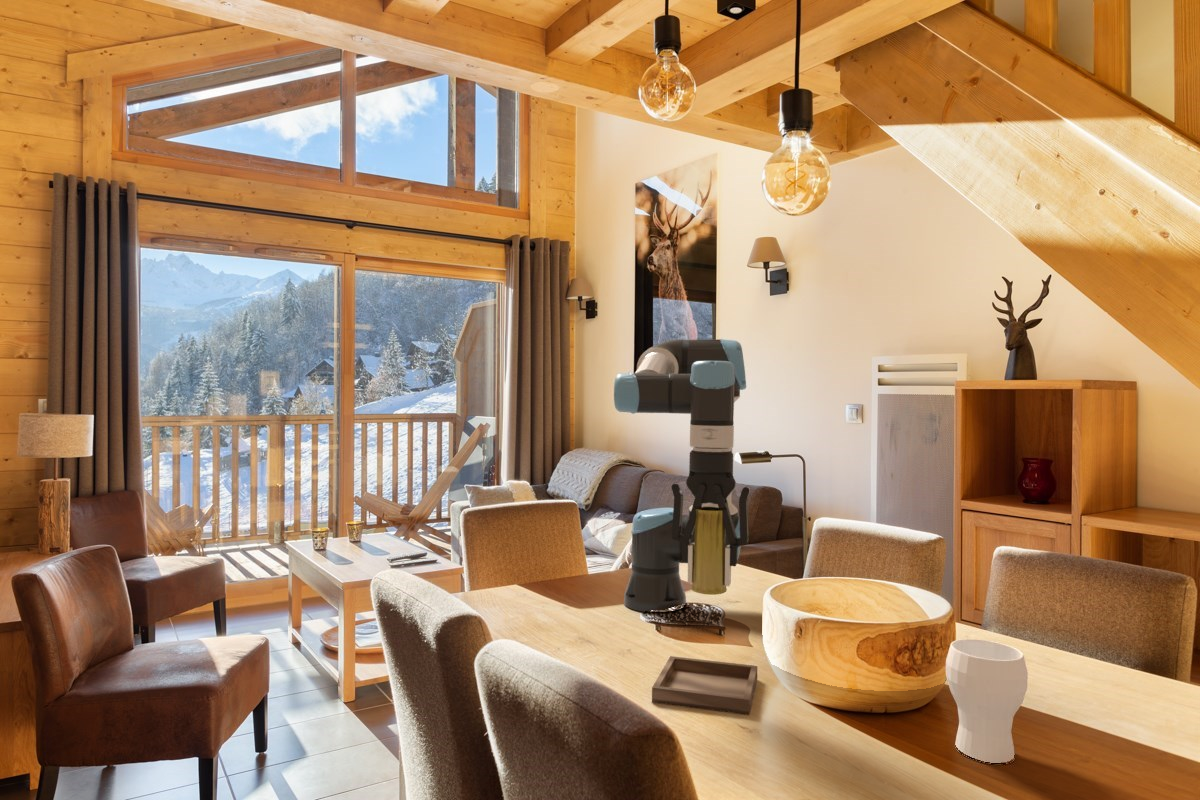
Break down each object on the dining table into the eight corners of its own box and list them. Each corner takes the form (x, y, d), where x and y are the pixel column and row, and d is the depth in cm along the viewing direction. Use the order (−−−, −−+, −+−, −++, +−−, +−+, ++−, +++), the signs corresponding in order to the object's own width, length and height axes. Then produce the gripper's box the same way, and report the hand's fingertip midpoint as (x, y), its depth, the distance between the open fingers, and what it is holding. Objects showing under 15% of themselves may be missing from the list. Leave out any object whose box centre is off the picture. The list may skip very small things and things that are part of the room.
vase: (729, 588, 134) (730, 507, 134) (723, 596, 128) (724, 512, 128) (695, 584, 136) (696, 505, 136) (687, 592, 130) (689, 509, 130)
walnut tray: (670, 669, 142) (670, 656, 142) (757, 679, 137) (757, 665, 137) (651, 702, 127) (652, 687, 127) (749, 715, 122) (749, 699, 122)
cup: (930, 736, 115) (932, 638, 115) (997, 734, 116) (998, 637, 116) (970, 771, 105) (972, 662, 105) (1043, 768, 106) (1045, 661, 106)
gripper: (654, 449, 131) (652, 583, 131) (764, 453, 126) (762, 592, 126) (662, 446, 138) (660, 573, 138) (767, 450, 133) (765, 582, 133)
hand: (709, 582), depth 132 cm, fingers closed on vase, 6 cm apart
